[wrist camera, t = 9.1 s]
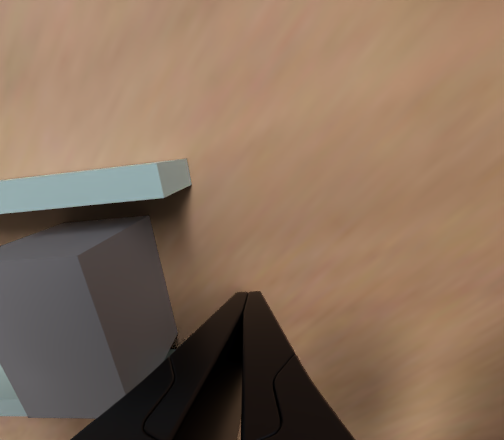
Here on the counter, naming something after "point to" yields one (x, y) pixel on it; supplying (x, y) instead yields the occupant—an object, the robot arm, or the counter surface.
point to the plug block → (82, 315)
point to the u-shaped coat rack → (81, 194)
